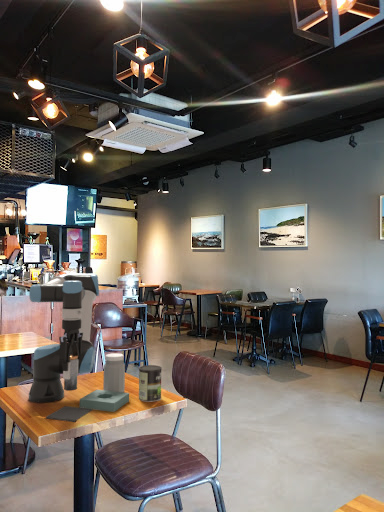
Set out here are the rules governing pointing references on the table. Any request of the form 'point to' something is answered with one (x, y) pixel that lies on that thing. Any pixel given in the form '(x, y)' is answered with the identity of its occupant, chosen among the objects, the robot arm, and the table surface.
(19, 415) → the table surface
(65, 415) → the mat
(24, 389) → the table surface
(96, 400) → the block
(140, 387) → the coffee can
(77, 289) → the robot arm
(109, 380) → the jar
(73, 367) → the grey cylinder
